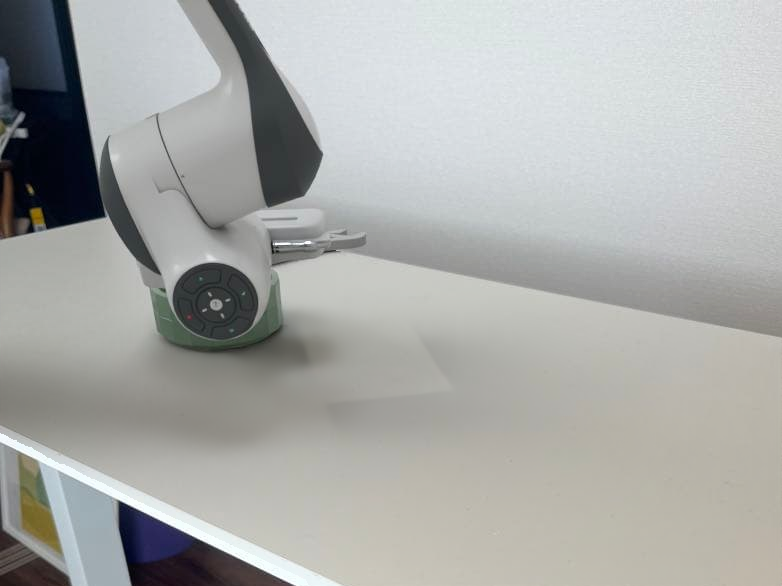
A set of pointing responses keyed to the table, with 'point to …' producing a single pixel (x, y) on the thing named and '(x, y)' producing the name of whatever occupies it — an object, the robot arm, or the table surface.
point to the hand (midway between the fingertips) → (233, 217)
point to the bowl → (183, 337)
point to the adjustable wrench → (343, 240)
